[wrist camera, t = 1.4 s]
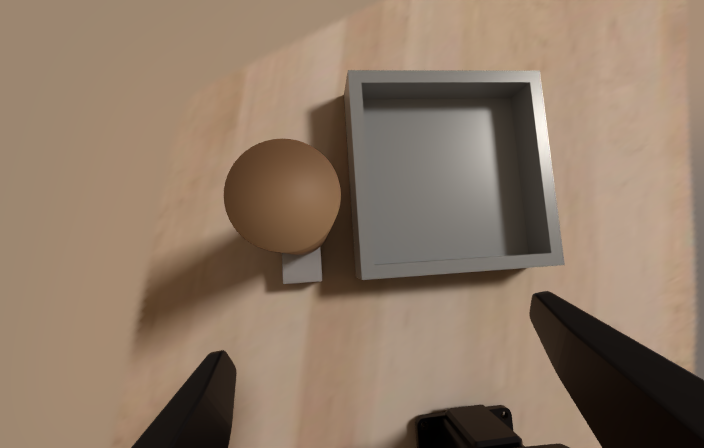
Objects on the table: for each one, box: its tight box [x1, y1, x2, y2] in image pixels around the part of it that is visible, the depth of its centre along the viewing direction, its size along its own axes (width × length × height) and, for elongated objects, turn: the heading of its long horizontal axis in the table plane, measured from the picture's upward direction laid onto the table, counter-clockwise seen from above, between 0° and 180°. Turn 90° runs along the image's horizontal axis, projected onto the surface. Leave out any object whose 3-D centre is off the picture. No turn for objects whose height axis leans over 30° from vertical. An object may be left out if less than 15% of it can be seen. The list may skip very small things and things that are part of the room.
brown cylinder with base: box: [224, 139, 341, 284], centre depth 16 cm, size 7×4×12 cm, turn 4°
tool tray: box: [344, 70, 565, 280], centre depth 22 cm, size 13×13×3 cm
